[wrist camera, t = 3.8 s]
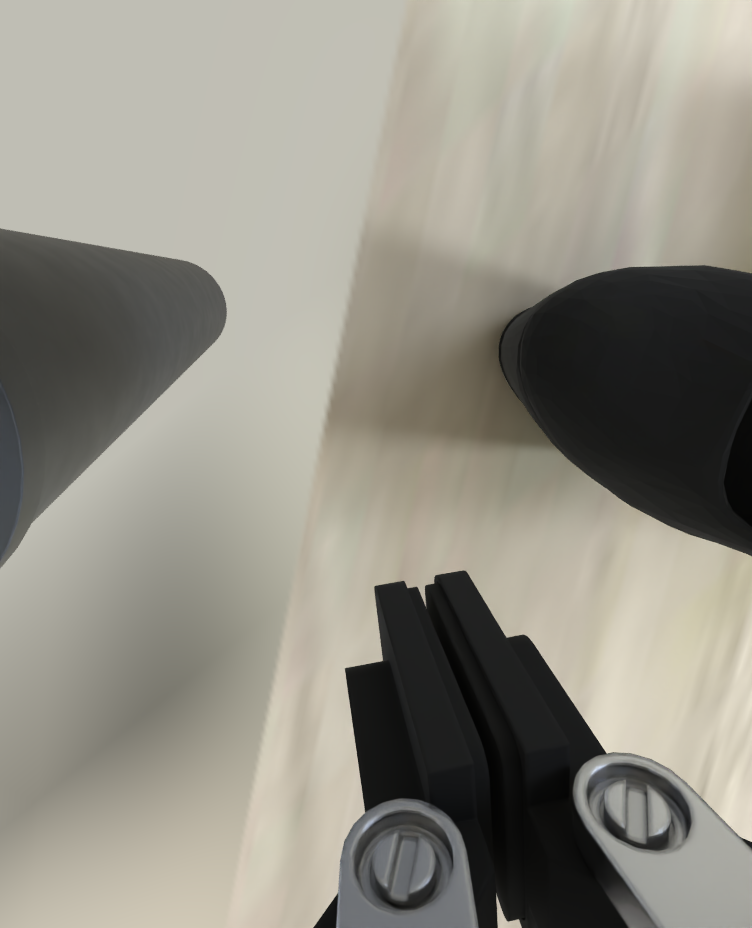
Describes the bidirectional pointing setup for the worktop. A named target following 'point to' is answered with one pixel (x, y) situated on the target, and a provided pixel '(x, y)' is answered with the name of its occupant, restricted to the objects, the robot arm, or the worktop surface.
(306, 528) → the worktop surface
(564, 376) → the high-heeled shoe
